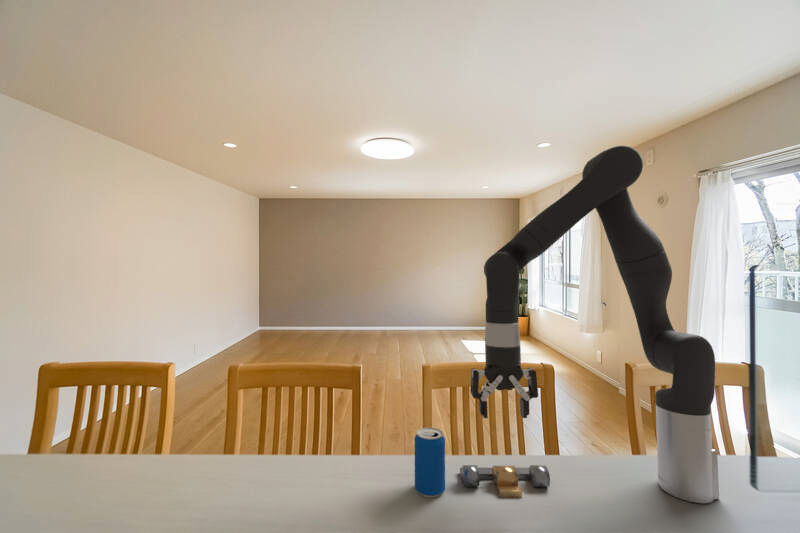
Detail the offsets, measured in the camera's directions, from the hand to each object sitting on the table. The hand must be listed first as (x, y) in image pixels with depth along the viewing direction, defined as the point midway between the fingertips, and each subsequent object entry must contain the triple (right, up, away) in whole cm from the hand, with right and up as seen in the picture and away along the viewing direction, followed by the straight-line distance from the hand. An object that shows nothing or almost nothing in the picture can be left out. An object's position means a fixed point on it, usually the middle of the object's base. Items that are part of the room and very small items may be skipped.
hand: (504, 416), depth 78 cm
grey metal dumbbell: (0, -15, +1) cm, 15 cm away
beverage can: (-17, -15, -3) cm, 22 cm away
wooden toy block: (0, -15, -2) cm, 15 cm away
